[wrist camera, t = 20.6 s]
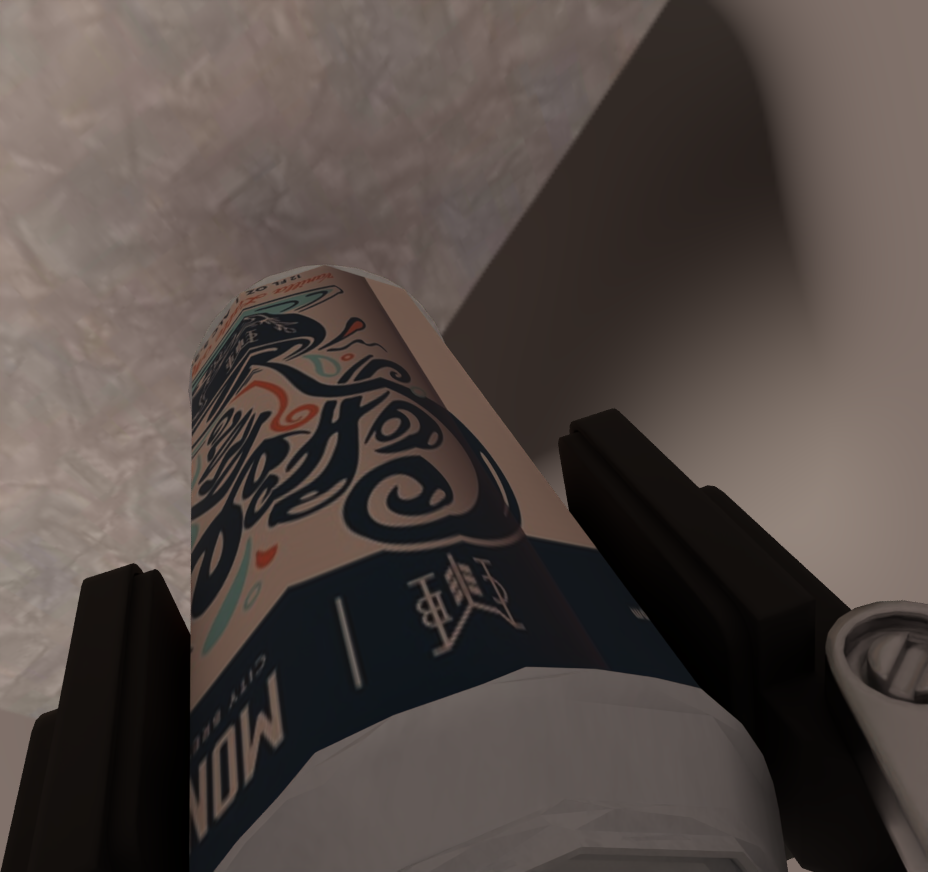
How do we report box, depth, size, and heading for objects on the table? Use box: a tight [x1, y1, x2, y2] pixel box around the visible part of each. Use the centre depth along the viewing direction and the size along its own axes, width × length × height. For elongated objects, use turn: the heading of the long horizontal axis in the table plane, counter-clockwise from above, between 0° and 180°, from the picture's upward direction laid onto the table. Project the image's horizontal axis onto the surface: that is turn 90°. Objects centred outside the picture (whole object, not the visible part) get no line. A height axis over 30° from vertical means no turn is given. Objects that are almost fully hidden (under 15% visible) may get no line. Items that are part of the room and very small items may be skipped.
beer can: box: [189, 265, 788, 872], centre depth 11 cm, size 5×5×12 cm
